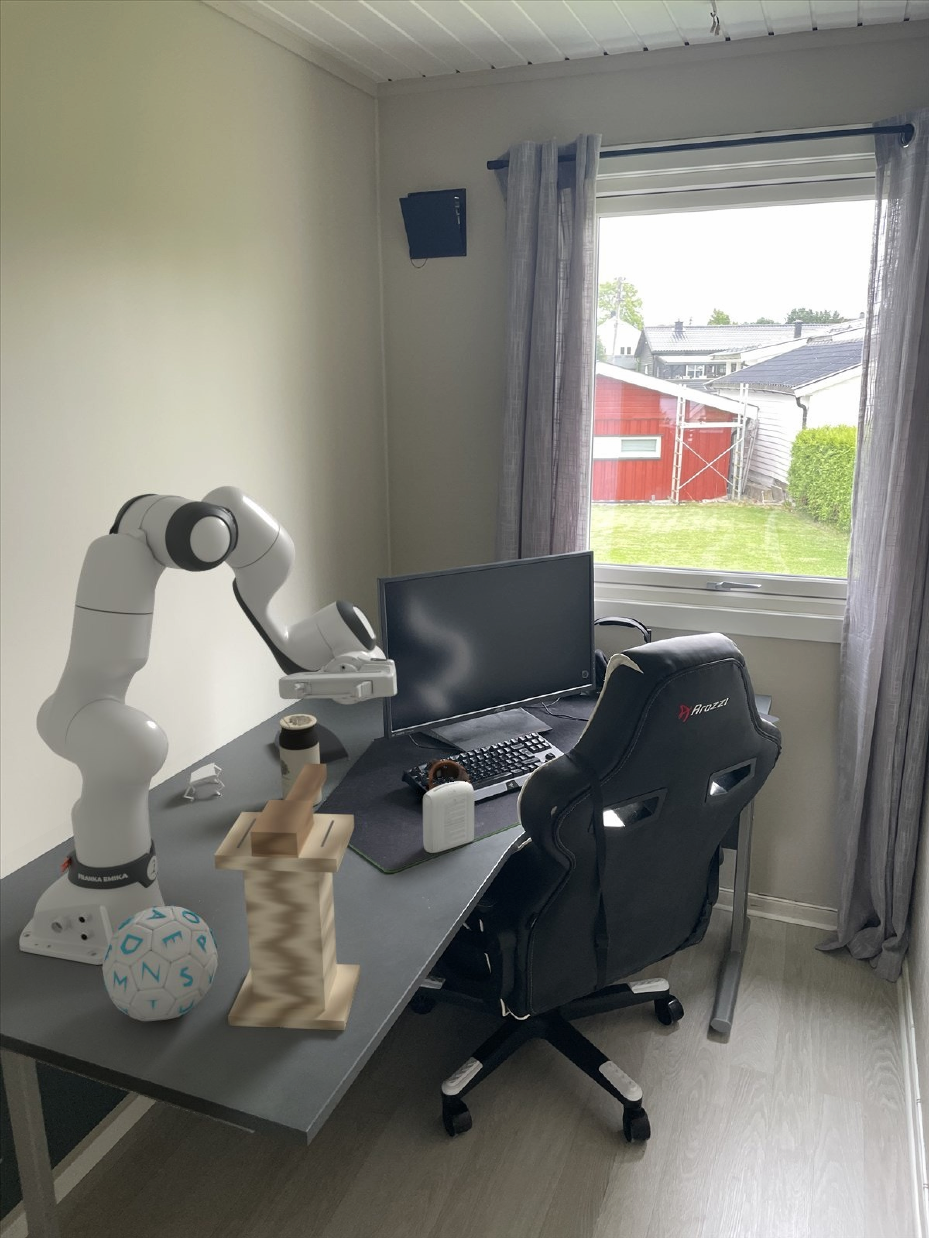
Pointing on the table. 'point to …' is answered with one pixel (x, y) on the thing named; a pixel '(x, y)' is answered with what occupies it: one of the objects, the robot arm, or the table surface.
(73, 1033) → the table surface
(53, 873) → the table surface
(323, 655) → the robot arm
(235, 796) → the table surface
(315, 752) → the travel mug
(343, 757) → the dark grey flat piece
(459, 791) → the photo printer
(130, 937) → the puzzle ball
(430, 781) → the pottery mug
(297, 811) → the wooden mallet
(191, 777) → the light grey legged piece
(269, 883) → the pine stand
